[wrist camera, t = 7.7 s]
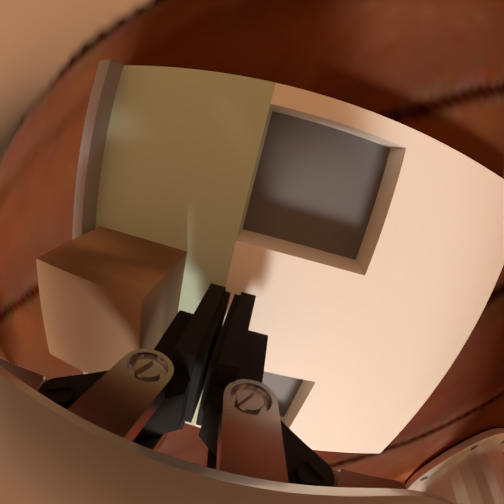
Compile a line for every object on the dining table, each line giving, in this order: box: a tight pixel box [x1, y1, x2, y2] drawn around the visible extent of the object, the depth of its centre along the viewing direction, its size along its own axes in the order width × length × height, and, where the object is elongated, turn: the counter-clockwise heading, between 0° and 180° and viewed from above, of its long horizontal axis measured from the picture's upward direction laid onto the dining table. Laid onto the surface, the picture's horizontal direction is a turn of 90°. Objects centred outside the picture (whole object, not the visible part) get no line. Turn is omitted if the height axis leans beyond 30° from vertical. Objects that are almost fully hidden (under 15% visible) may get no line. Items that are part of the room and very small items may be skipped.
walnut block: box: [36, 226, 187, 374], centre depth 10 cm, size 4×4×4 cm
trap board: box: [73, 60, 504, 453], centre depth 12 cm, size 18×17×3 cm
